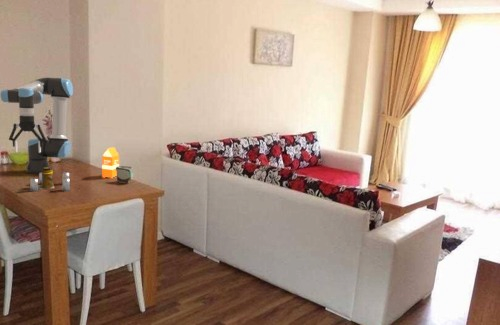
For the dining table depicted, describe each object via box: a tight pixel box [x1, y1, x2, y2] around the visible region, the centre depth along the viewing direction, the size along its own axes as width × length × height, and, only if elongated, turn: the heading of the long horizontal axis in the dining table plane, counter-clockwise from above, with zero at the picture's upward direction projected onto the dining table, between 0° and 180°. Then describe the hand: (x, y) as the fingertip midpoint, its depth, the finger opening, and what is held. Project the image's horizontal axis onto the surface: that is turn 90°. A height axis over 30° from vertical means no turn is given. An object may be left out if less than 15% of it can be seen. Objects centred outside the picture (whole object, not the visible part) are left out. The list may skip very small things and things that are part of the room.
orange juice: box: [101, 146, 120, 179], centre depth 290 cm, size 8×9×20 cm
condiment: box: [38, 166, 56, 190], centre depth 254 cm, size 7×8×12 cm
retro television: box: [115, 165, 133, 185], centre depth 279 cm, size 12×6×10 cm, turn 65°
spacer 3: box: [61, 171, 70, 180], centre depth 265 cm, size 4×4×7 cm
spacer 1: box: [29, 177, 39, 193], centre depth 246 cm, size 4×4×7 cm
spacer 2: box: [38, 172, 42, 186], centre depth 261 cm, size 4×4×7 cm
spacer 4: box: [61, 177, 71, 192], centre depth 251 cm, size 4×4×7 cm
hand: (28, 152), depth 249 cm, fingers open, 12 cm apart
